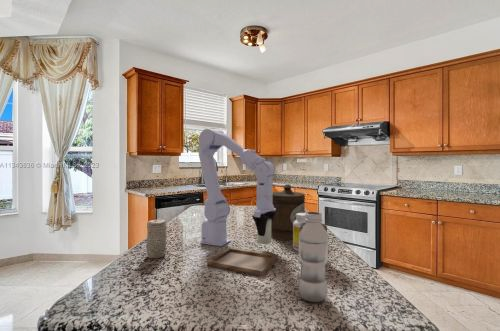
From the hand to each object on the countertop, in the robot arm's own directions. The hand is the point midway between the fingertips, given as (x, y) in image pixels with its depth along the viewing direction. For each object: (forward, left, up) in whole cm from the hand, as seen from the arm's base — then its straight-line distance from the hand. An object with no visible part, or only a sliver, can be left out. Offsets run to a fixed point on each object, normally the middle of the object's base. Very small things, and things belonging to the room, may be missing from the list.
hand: (264, 233), depth 94 cm
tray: (-2, -13, -6) cm, 14 cm away
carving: (-31, -20, -6) cm, 37 cm away
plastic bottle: (+22, -26, -6) cm, 35 cm away
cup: (0, 0, -3) cm, 3 cm away
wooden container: (+2, +22, -6) cm, 23 cm away
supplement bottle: (+12, +7, -6) cm, 15 cm away
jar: (+18, -4, -6) cm, 20 cm away
